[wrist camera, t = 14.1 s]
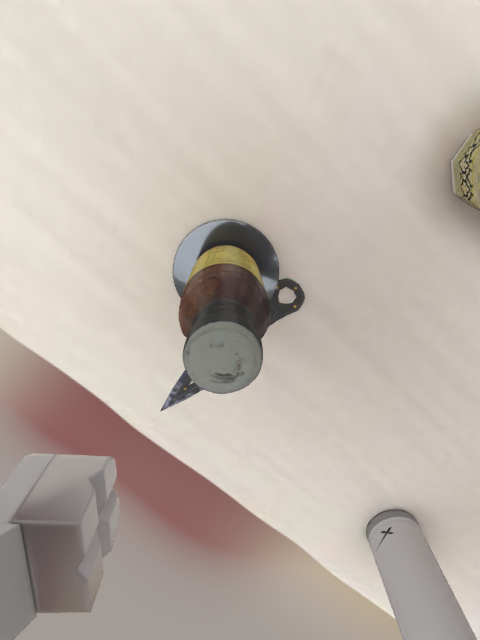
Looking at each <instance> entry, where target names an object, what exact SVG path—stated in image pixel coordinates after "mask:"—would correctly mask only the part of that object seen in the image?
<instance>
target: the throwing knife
mask: <svg viewBox="0 0 480 640" xmlns="http://www.w3.org/2000/svg"><path fill="white" fill-rule="evenodd" d="M285 287H288V288H290V289H291V290H293V291H294V293H295V295H296V297H297V298H296V299H295V300H294V302H293V303H291V304H281V303H279V300H278V295H279V290H281V289H283V288H285ZM304 299H305V297H304V292H303V291H302V289H301V287H300V286H299V284H297V283H296V282H294V281H292V280H290V279H283V280H279V281H278V284H277V287H276V290H275V293H274V295H273V297H272V298H271V300H270V301H269V302H270V322H269V325H268V327H269V326H270V325H271V324H273V323H274V322H276V321H277V320H279V319H281V318H283V317H285V316H286V315H288V314H291V313H293V312H295V311H297V310H299V309H300V307H301V306H302V304H303V302H304ZM190 382H191V378H190V377H189V375H188V374H187V372H186V370H185V371H184V373H183V374H182V376H181V377H180V379H179V380H178V382H177V383H176V385H175V386H174V387H173V389H172V391H171V393H170V394H169V396H168V398H167V400H166V402H165V403H164V405H163V407H162V409H161V411H162V410H164V409H166V408H168V407H170V406H173V405H175V404H177V403H179V402H181V401H183V400H185V399H187V398H189V397H191V396H192V395H194V394H196V393H198V392H199V391H201V390H203V388H201V387H199V386H198V385H197V384H195V383H193V384H191V385H189V384H190ZM188 385H189V386H188Z"/></svg>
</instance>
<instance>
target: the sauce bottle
mask: <svg viewBox="0 0 480 640" xmlns="http://www.w3.org/2000/svg"><path fill="white" fill-rule="evenodd" d="M179 322H180V326H181V330H182V333H183V334H184V336H185V337H187V339H186V342H185V345H184V350H183V363H184V367H185V369H186V372H187V374H188V375H189V377H190V378H191V380H192V381H193V382H194V383H195V384H197V385H198V386H199V387H201V388H203V389H204V390H206V391H209V392H213V393H218V394H226V393H231V392H235V391H238V390H241V389H243V388H245V387H246V386H248V385H249V384H250V383H251V382H252V381H253V380H254V379H255V378H256V377H257V375H258V374H259V372H260V369H261V365H262V361H263V349H262V342H261V338H262V337H263V336H264V334H265V332H266V330H267V328H268V325H269V322H270V302H269V298H268V295H267V292H266V289H265V286H264V284H263V280H262V278H261V275H260V272H259V269H258V266H257V264H256V262H255V261H254V259H253V258H252V257H251V256H250V255H249V254H248V253H246V252H245V251H244V250H242V249H240V248H237V247H234V246H216V247H213V248H212V249H210V250H208V251H206V252H205V253H204V254H203V255H201V256H200V257H199V259H198V260H197V261H196V264H195V266H194V267H193V269H192V272H191V274H190V276H189V279H188V281H187V283H186V286H185V288H184V291H183V294H182V298H181V302H180V306H179Z"/></svg>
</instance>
